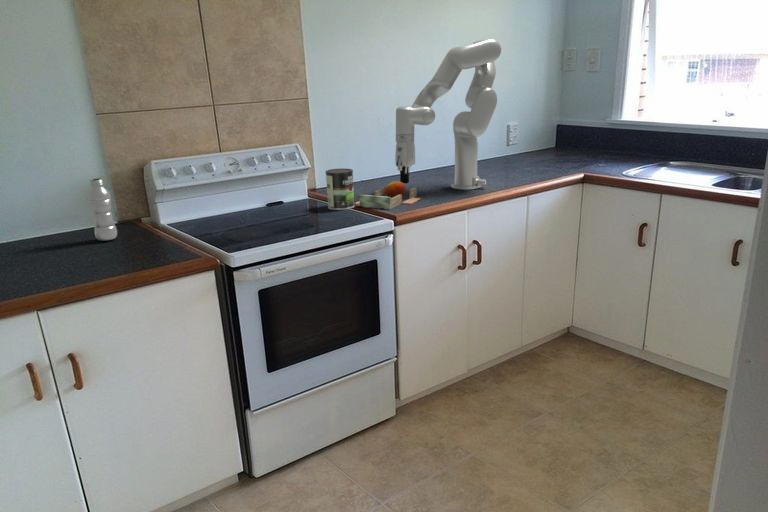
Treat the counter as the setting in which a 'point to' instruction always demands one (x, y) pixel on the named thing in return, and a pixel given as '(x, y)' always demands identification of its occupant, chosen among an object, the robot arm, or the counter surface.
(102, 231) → the plastic bottle
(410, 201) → the trap marks
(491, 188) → the counter surface
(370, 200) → the trap box
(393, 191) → the fruit
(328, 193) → the coffee can
